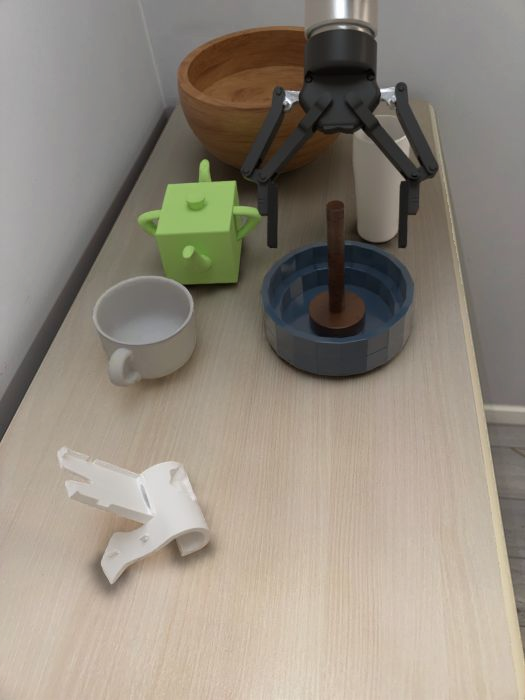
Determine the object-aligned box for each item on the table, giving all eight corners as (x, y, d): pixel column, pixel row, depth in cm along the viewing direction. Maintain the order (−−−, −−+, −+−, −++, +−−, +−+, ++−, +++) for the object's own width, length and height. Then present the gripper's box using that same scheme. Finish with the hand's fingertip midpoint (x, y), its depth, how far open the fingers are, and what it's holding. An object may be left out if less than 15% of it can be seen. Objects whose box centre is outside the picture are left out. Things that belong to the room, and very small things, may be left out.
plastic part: (213, 544, 61) (193, 476, 53) (108, 588, 59) (69, 525, 51) (188, 479, 66) (166, 407, 58) (89, 517, 64) (51, 449, 56)
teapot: (214, 217, 95) (203, 149, 87) (284, 254, 88) (279, 184, 80) (131, 273, 88) (110, 206, 80) (199, 318, 81) (184, 249, 74)
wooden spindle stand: (373, 309, 79) (378, 194, 67) (352, 347, 75) (353, 231, 63) (323, 295, 81) (319, 181, 69) (300, 331, 77) (291, 217, 66)
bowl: (222, 114, 115) (209, 23, 103) (369, 122, 108) (371, 26, 97) (170, 201, 99) (147, 104, 88) (338, 216, 93) (337, 114, 81)
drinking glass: (351, 216, 92) (352, 114, 81) (402, 216, 91) (409, 112, 80) (351, 248, 88) (351, 145, 77) (404, 248, 87) (412, 143, 76)
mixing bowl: (429, 298, 80) (434, 259, 76) (378, 399, 71) (380, 362, 66) (303, 265, 86) (300, 227, 82) (240, 354, 77) (234, 316, 72)
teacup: (143, 314, 83) (127, 264, 77) (220, 336, 79) (210, 286, 73) (76, 396, 75) (53, 348, 69) (158, 426, 71) (141, 377, 65)
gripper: (459, 50, 72) (453, 250, 73) (229, 59, 75) (226, 250, 76) (471, 18, 64) (464, 242, 65) (214, 31, 68) (212, 243, 69)
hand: (336, 247), depth 71 cm, fingers open, 13 cm apart
